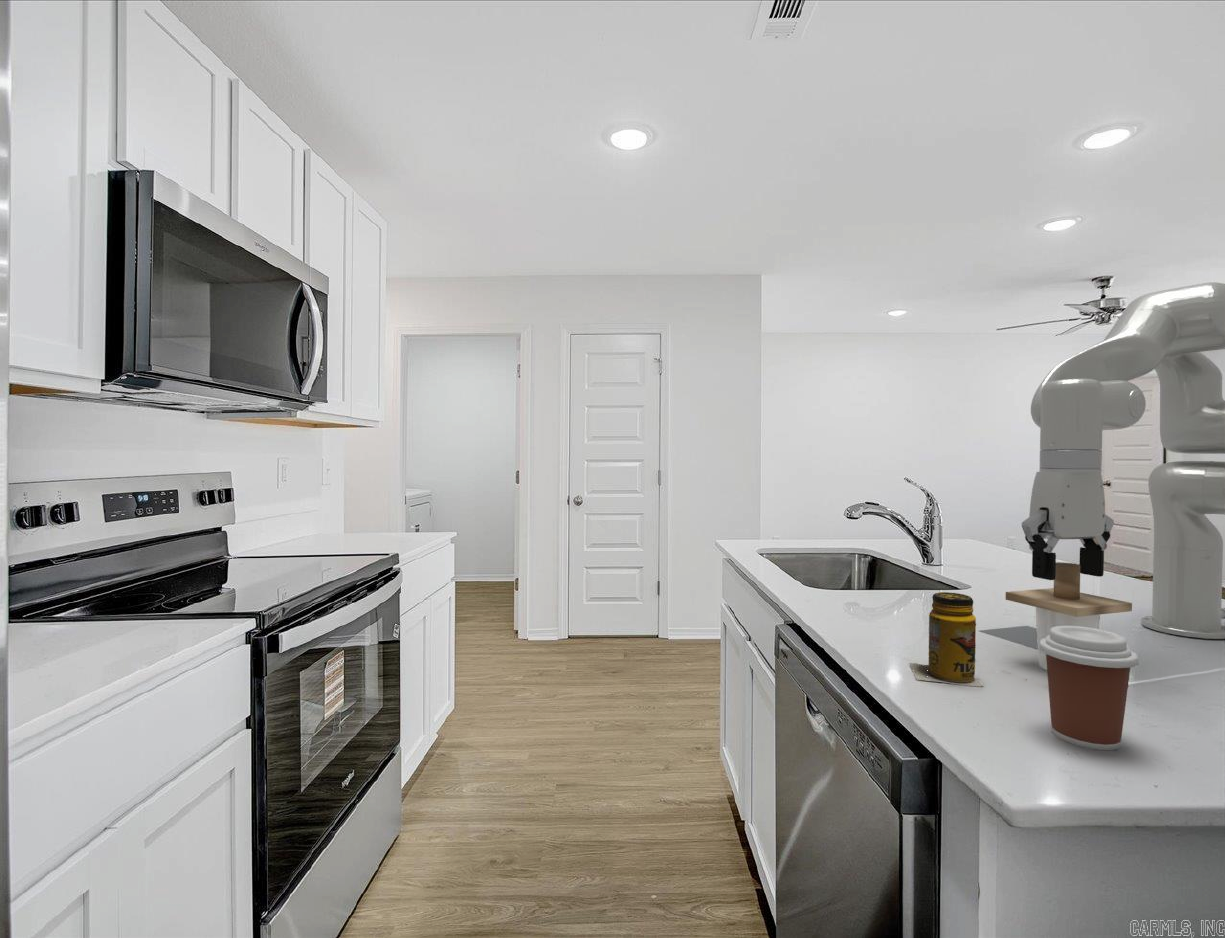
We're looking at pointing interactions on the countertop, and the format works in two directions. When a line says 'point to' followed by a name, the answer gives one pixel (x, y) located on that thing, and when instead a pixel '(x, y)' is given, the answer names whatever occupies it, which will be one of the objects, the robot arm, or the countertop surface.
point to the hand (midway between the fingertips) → (1067, 576)
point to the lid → (1068, 596)
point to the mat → (1016, 635)
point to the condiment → (950, 641)
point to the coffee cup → (1087, 685)
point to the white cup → (1053, 619)
